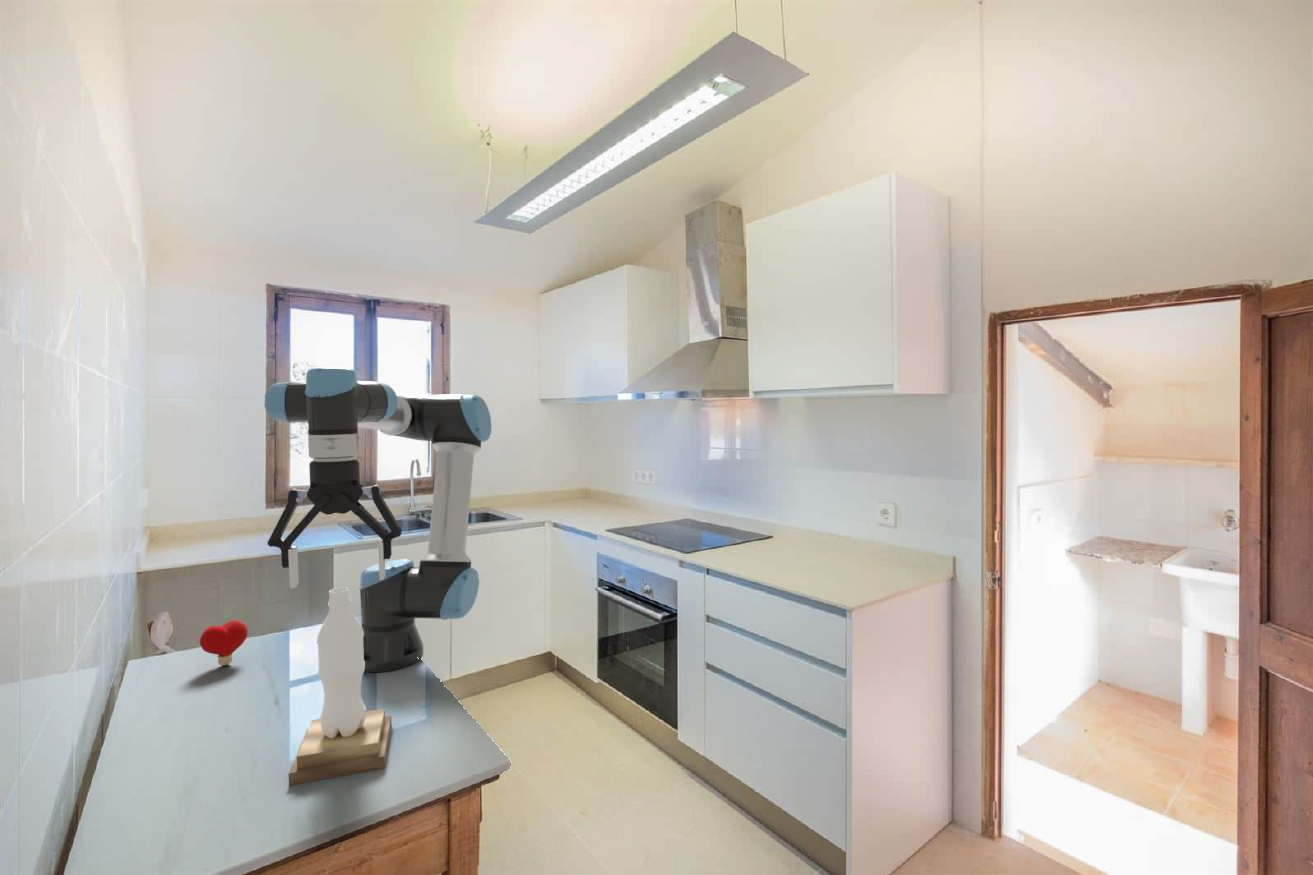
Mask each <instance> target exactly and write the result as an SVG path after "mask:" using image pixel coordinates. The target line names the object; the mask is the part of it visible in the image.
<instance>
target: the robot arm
mask: <svg viewBox="0 0 1313 875" xmlns="http://www.w3.org/2000/svg"><path fill="white" fill-rule="evenodd" d="M356 374H357V373H356V371H355V370H354V369H352V368H349V367H347V368H345V367H312V368H310V369H309V370H307V372H306V375H305V376H306V377H305V381H303V382H301V381H298V382H297V381H286V382H276V383H273V384H272V385H270V386H269V387H268V389H267V390H266V392H265V395H264V410H265V411H266V413H267V415H268V416H269V417H270V419H272V420H273V421H276V422H281V423H288V424H292V423H305V424H306V423H307V424H308V427H307V428H308V429H307V432H308V433H307V443H308V445H307V446H308V457H309V458H310V459H312V461H310V463H309V464H308V466H309V467H308V468H309V488H308V489H299V488H297V487H294V488H293V489H291V490H289V491H288V494H287V504H286V506H285V508H284V509H283V511H282V513H281V516H280V517H279V519H278V521H277V522H276V525H275V526H274V529H273V531H272V533H271V535H270V536H269V538H268V541H267V546H269V547H270V548H271V547H274V548H275V547H276V548H279V550H280V553H281V554H280V555H281V567H282V568H283V569H285V568H286V569H287V568H288V574H289V588H290V589H295V588H296V587H297V586H298V585H299V583H300V582H299V580H300V578H299V558H298V545H293V543H294V542H295V541H296V540H297V539H298V538H299V536H300V535H302V533H303V532H304V530H306V528H307V527H308V526H309V525H310V524H311V523H312V521H314V519H315V518H316V517H318V515H319V514H320V513H322V514H325V515H328V516H329V515H333V514H341V515H342V514H347V513H349V512H351V513H352V514H354V515H355V516H357V517H358V518H359V519H360V520H361V521H362V522H363V523H364V524H365V525H366V526H368V527H369V529H371V530H372V531H373V532H374V533H375V535H377V536H378V537H379V538H380V539H379V540H378V543H377V548H378V549H377V550H378V563H375V564H373V565H370V566H368V567H366V568H365V569H363V570H362V572H361V574H360V580H359V591H360V592H359V595H360V596H359V598H360V617H361V618H360V619H361V622H360V623H361V626H362V628H363V632H364V636H363V649H364V661H365V670H364V672H367V673H383V672H385V673H386V672H391V671H396V670H400V669H404V668H406V667H409V666H411V665H413V664H415V663H416V662H418V661H419V660H418V658H419V659H420V660H421V659H423V658H422V657H423V656H424V643H423V641H422V638H421V636H420V633H419V631H418V628H417V625H416V619H435V620H436V619H437V620H443V621H446V620H459V619H462V618H464V617H465V616H467V615H468V613H470V611H471V609H472V608H473V607H474V604H475V602H476V599H477V596H478V592H479V588H480V578H479V572H478V571H477V569H475V568H473V567H472V559H471V558H470V557H469V556H468V555H467V553H466V550H467V539H468V528H469V527H468V526H469V516H470V515H469V514H470V503H471V492H472V480H473V471H474V470H473V469H474V458H475V456H476V454H477V453H479V452H480V451H481V449H482V443H484V442H486V441H488V440H489V439H490V436H491V435H492V434H491V433H492V418H491V413H490V411H489V407H488V405H487V403H486V401H485V399H483V398H482V397H481V396H480V395H476V394H465V393H461V394H459V393H457V394H419V395H415V394H414V395H406V396H404V395H403V396H400V395H399V396H398V395H397V394H396V391H394V389H393V388H392V387H391V386H390V385H388V384H387V383H383V382H379V381H376V380H374V381H373V380H372V381H370V380H369V381H365V380H364V381H363V380H362V381H361V380H359V381H358V380H357V376H356ZM358 428H359V429H367V430H378V431H379V432H381V433H382V434H384V435H387V436H393V437H400V438H405V439H411V440H416V441H422V442H424V441H425V442H431V448H432V449H433V450H434V451H435V452H436V462H435V463H436V464H435V476H434V483H433V484H434V486H433V496H432V505H431V516H430V525H429V538H428V546H427V547H428V548H427V553H426V554H425V555H424V556H422V557H421V558H420V559H419V567H418V566H417V567H415V563H414V561H413V559H411V558H410V559H409V558H400V559H399V558H398V559H393V560H389V559H391V557H392V540H393V539H395V538H400V537H401V536H402V532H403V530H402V527H401V525H400V524H399V523H398V520H396V517H395V516H394V514H393V513H392V511H391V510H390V507H389V506H388V504H387V503H386V501H385V499H384V498H383V496H382V495H383V494H382V490H381V486H380V485H379V484H373V485H371V486H365V487H363V486H362V485H361V484H362V483H361V475H360V473H361V472H360V460H358V458H356V457H358V456H359V455H360V452H359V451H360V446H359V445H360V444H359V433H358V432H359V430H358ZM363 495H366V496H367V498H368V499H370V500H372V501H373V503H374V505H375V507H376V508H377V510H378V512H379V513H380V516H382V518H383V520H384V522H385V523H386V525H387V526H388V528H389V530H390V531H389V530H388V529H387V528H386V527H385V526H384V525H383V524H381V523H380V522H379V521H378V520H377V519H376V517H374V516H373V515H372V514H371V513H370V512H369V511H368V509H366V508H365V506H364V505H363V504H361V503H360V502H359V500H360V499H361V498H362V496H363ZM306 497H307V498H308V500H309V501H310V502H311V503H312V504H313V507H312V508H311V509H310V510H309V511H308V512H307V514H305V516H304V517H303V518H302V520H300V521H299V522H298V524H297V525H296V526H295V527H294V528H293V529H292V531H291V532H290V534H288V535H287V537H286V538H282V537H283V535H284V532H285V531H286V529H287V527H288V525H289V523H290V521H291V519H292V517H293V515H294V514H295V511H296V509H297V507H298V505H299V504H301V503H302V502H303V501H304V499H305V498H306ZM386 560H388V561H386ZM417 657H418V658H417Z"/></svg>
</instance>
